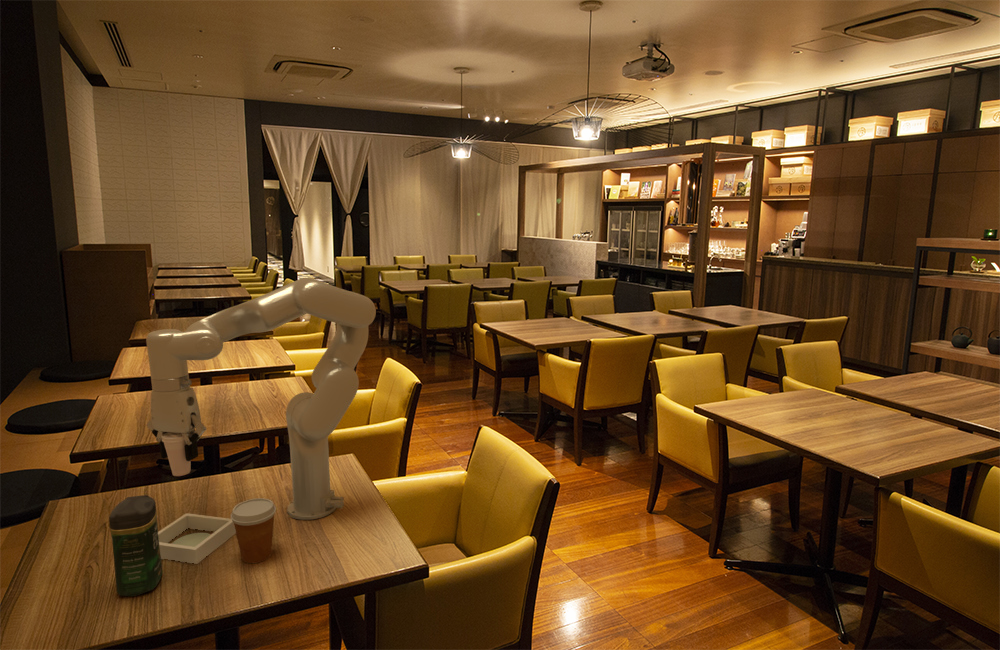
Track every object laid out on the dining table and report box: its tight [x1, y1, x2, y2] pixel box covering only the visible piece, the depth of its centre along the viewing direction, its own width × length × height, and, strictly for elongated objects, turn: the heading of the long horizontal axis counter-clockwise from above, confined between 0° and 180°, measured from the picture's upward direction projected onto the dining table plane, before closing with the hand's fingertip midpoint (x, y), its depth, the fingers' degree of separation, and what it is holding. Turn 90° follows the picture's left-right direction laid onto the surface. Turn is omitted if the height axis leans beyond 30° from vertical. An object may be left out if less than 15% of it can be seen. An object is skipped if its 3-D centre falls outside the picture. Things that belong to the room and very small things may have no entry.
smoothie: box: [161, 432, 192, 477], centre depth 138 cm, size 6×6×14 cm
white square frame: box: [158, 512, 236, 565], centre depth 141 cm, size 14×14×4 cm
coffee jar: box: [108, 494, 163, 597], centre depth 124 cm, size 10×8×19 cm
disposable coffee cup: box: [230, 497, 277, 564], centre depth 135 cm, size 10×10×12 cm
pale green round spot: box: [171, 532, 211, 547], centre depth 141 cm, size 9×9×1 cm
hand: (179, 456), depth 139 cm, fingers closed on smoothie, 6 cm apart
